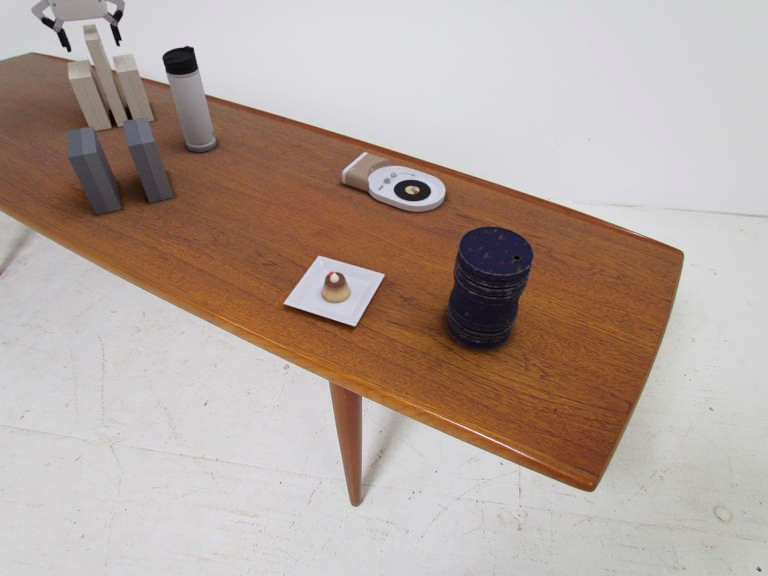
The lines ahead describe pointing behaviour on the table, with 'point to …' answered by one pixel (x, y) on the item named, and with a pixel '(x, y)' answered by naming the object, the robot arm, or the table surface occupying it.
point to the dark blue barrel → (488, 286)
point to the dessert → (335, 290)
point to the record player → (394, 183)
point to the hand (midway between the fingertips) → (94, 47)
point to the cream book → (105, 73)
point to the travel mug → (189, 98)
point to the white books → (92, 95)
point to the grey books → (98, 173)
